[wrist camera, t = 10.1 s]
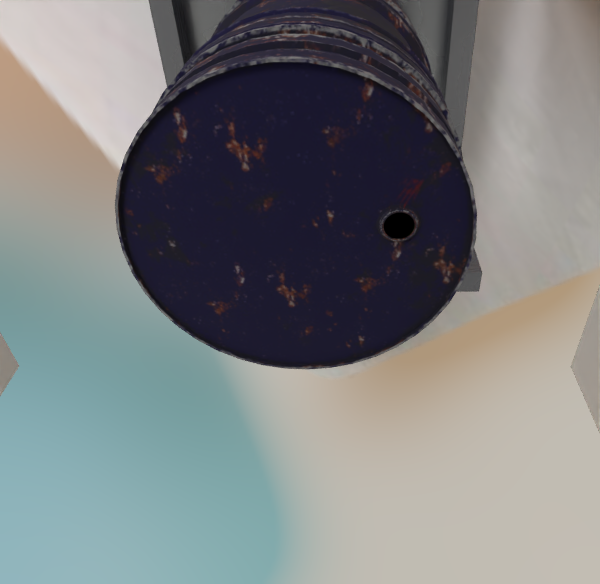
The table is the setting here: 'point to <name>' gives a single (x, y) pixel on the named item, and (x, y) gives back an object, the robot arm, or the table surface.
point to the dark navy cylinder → (300, 187)
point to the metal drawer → (417, 6)
